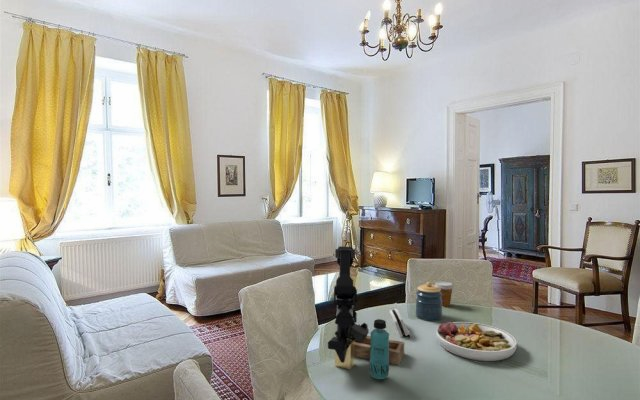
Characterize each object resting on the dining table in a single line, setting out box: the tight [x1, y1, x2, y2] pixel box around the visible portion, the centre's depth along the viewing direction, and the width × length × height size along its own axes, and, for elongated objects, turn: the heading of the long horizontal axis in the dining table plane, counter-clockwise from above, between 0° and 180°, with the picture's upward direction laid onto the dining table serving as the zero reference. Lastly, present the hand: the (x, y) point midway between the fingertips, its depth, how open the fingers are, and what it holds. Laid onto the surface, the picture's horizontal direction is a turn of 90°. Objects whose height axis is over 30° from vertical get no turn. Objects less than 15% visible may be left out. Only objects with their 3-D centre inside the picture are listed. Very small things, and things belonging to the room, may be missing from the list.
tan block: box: [334, 339, 356, 370], centre depth 135 cm, size 6×4×9 cm
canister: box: [415, 281, 443, 322], centre depth 184 cm, size 13×13×18 cm
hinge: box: [388, 308, 413, 338], centre depth 168 cm, size 17×5×10 cm, turn 0°
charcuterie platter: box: [435, 321, 518, 362], centre depth 150 cm, size 30×30×8 cm
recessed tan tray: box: [355, 335, 405, 365], centre depth 143 cm, size 20×10×4 cm, turn 66°
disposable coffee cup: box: [434, 281, 454, 308], centre depth 202 cm, size 10×10×12 cm
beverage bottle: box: [369, 318, 390, 380], centre depth 125 cm, size 6×7×20 cm
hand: (344, 359), depth 135 cm, fingers closed on tan block, 4 cm apart
